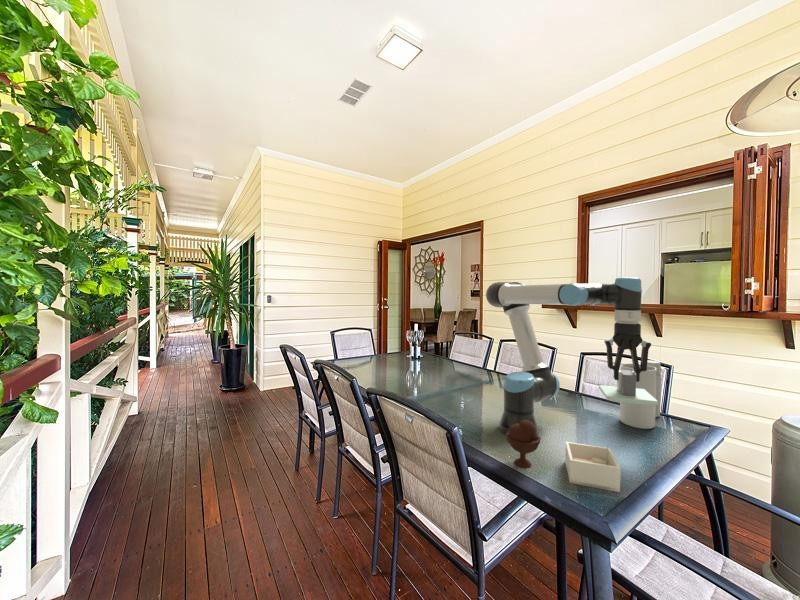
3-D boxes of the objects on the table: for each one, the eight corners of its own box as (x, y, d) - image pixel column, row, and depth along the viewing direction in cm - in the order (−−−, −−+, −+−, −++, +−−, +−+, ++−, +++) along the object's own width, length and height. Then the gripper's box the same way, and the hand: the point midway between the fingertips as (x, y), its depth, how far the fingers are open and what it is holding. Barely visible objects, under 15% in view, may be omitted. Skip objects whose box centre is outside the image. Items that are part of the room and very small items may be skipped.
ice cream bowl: (531, 455, 117) (531, 413, 117) (546, 472, 106) (546, 426, 105) (501, 455, 117) (501, 413, 116) (513, 473, 106) (513, 427, 105)
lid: (606, 402, 110) (607, 375, 110) (598, 390, 124) (599, 366, 123) (657, 407, 105) (658, 379, 105) (643, 394, 118) (644, 369, 118)
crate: (569, 482, 100) (570, 460, 100) (565, 461, 113) (565, 441, 112) (620, 492, 96) (620, 468, 96) (609, 469, 108) (610, 448, 108)
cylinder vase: (640, 431, 136) (641, 371, 136) (612, 419, 148) (614, 364, 148) (662, 427, 140) (663, 369, 139) (634, 416, 152) (635, 362, 151)
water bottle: (655, 412, 157) (657, 360, 156) (663, 418, 149) (665, 363, 149) (633, 410, 159) (634, 359, 159) (640, 416, 152) (641, 362, 151)
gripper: (601, 322, 113) (600, 390, 114) (660, 324, 107) (659, 396, 108) (597, 320, 120) (596, 384, 121) (652, 322, 114) (651, 389, 115)
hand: (626, 389), depth 114 cm, fingers closed on lid, 3 cm apart
